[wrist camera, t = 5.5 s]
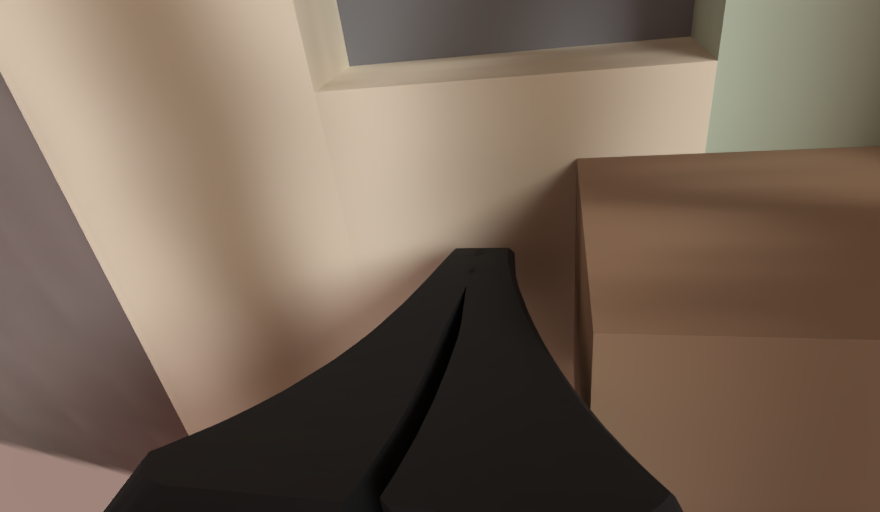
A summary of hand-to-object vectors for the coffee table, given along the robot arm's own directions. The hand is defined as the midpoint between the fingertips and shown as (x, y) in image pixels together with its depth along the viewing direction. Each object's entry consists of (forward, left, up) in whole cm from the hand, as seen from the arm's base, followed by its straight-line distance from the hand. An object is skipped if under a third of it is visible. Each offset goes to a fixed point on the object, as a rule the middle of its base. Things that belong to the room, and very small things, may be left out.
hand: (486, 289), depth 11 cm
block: (+3, +2, -1) cm, 4 cm away
